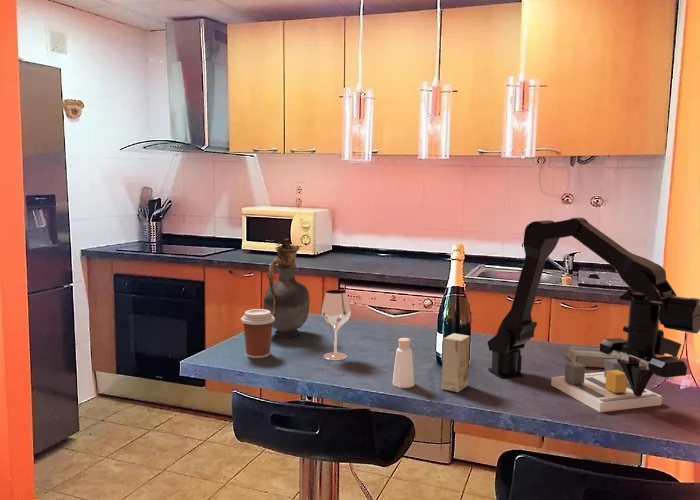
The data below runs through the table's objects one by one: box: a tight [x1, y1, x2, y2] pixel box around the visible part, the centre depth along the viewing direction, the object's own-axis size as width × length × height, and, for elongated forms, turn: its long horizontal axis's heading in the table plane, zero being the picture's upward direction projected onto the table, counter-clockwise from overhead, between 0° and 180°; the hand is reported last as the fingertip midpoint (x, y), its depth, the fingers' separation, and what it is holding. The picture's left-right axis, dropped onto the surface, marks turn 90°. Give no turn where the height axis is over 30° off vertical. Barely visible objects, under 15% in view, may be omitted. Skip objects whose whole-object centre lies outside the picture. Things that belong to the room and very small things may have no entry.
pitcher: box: [262, 238, 311, 338], centre depth 182 cm, size 11×19×30 cm, turn 160°
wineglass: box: [320, 289, 352, 361], centre depth 161 cm, size 8×8×18 cm
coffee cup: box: [240, 308, 275, 359], centre depth 163 cm, size 9×9×12 cm
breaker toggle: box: [605, 370, 628, 393], centre depth 132 cm, size 3×3×4 cm
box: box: [563, 344, 621, 369], centre depth 161 cm, size 11×17×3 cm, turn 86°
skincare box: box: [441, 332, 471, 393], centre depth 139 cm, size 6×4×12 cm
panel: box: [550, 359, 663, 413], centre depth 136 cm, size 16×17×6 cm
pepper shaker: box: [392, 337, 415, 389], centre depth 141 cm, size 5×5×11 cm
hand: (637, 395), depth 126 cm, fingers closed
